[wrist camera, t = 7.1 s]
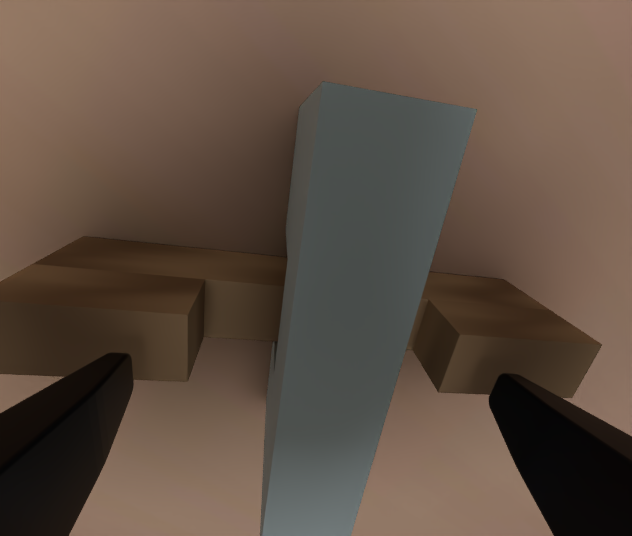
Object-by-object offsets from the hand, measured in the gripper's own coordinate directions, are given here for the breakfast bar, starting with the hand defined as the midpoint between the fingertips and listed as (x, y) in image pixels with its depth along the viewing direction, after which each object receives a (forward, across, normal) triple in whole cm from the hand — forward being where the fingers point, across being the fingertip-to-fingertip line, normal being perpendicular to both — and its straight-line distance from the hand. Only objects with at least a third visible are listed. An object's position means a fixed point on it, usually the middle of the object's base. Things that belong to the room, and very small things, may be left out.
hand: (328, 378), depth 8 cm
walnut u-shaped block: (+5, 0, 0) cm, 5 cm away
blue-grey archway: (+5, 0, 0) cm, 5 cm away
